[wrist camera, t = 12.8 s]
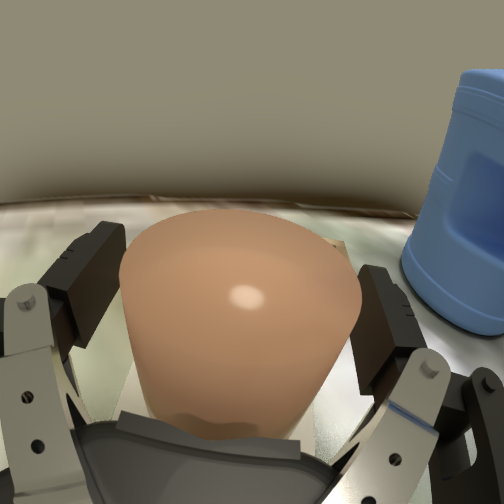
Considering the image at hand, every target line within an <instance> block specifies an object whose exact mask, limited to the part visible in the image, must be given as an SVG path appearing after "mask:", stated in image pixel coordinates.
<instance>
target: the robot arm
mask: <svg viewBox="0 0 504 504" xmlns="http://www.w3.org/2000/svg"><path fill="white" fill-rule="evenodd" d="M125 252H126V237H125V228H124V225H123V224H120V223H113V222H107V221H101V222H100V223H99V224H98V225H97V226H96V227H95V228H94V229H93V230H92V231H91V233H86V234H84V235H82V236H80V237H79V238H77V239H75V240H74V241H73V242H72V243H71V244H70V245H69V246H68V248H67V249H66V251H64V252H63V253H62V254H61V255H60V258H58V259H57V260H56V261H55V262H54V263H53V265H52V266H51V267H50V268H49V269H48V270H47V272H46V273H45V274H44V275H43V276H42V278H41V279H40V280H39V281H38V282H37V284H34V283H29V284H24V285H21V286H19V287H17V288H15V289H14V290H12V291H11V292H10V293H9V295H8V296H7V298H0V420H1V427H2V433H3V439H4V444H5V450H6V454H7V459H8V463H9V467H8V468H6V469H4V470H3V471H1V472H0V504H408V502H409V500H410V498H411V497H412V495H413V493H414V491H415V489H416V487H417V485H418V483H419V481H420V479H421V477H422V475H423V473H424V470H425V468H426V466H427V464H428V466H429V474H430V482H431V492H432V504H504V387H503V384H502V382H501V380H500V379H499V377H498V376H497V375H496V374H495V373H494V372H493V371H491V370H490V369H488V368H484V367H480V368H477V369H476V370H475V371H474V372H473V373H472V374H471V375H470V376H469V377H466V376H463V375H460V374H457V373H453V372H451V371H450V367H449V365H448V363H447V361H446V360H445V359H444V357H443V356H441V355H440V354H439V353H438V352H436V351H434V350H432V349H428V347H427V345H426V342H425V340H424V337H423V334H422V332H421V329H420V327H419V325H418V322H417V320H416V318H415V317H414V316H415V315H414V313H413V310H412V308H410V307H411V305H410V303H409V301H408V299H407V296H406V294H405V293H404V292H403V291H402V290H401V289H400V288H399V287H398V286H397V284H393V283H392V280H391V278H390V276H389V274H388V271H387V269H386V268H384V267H378V266H372V265H366V264H365V265H363V266H362V268H361V269H360V272H359V274H358V277H357V278H358V280H359V283H360V287H361V292H362V305H361V310H360V314H359V316H358V319H357V321H356V323H355V325H354V327H353V329H352V331H351V333H350V340H351V345H352V350H353V356H354V361H355V367H356V372H357V378H358V384H359V390H360V395H373V397H374V403H373V404H372V405H371V406H370V408H369V409H368V411H367V412H366V414H365V415H364V417H363V418H362V420H361V421H360V423H359V424H358V426H357V427H356V429H355V430H354V431H353V433H352V434H351V436H350V437H349V439H348V440H347V441H346V443H345V444H344V445H343V447H342V448H341V449H340V450H339V452H338V453H337V454H336V455H335V456H334V457H333V458H332V459H331V461H330V462H329V463H328V464H327V463H326V462H324V461H322V460H321V459H319V458H317V457H315V456H312V455H310V454H308V453H305V452H301V442H300V440H288V439H275V438H264V437H250V438H240V439H229V440H216V441H209V440H204V439H202V438H199V437H197V436H195V435H192V434H190V433H188V432H186V431H183V430H181V429H179V428H177V427H175V426H173V425H170V424H168V423H166V422H164V421H161V420H157V419H153V418H149V417H145V416H141V415H137V414H134V413H130V412H126V411H123V410H121V412H120V415H119V418H118V420H110V421H100V422H94V423H92V422H91V419H90V417H89V415H88V413H87V411H86V408H85V406H84V403H83V400H82V396H81V393H80V390H79V386H78V383H77V379H76V375H75V371H74V368H73V364H72V359H71V356H70V353H69V352H70V350H71V348H72V346H73V345H74V346H77V347H80V348H84V349H86V347H87V345H88V343H89V341H90V339H91V337H92V335H93V334H94V332H95V330H96V328H97V326H98V324H99V323H100V321H101V319H102V317H103V315H104V314H105V312H106V310H107V308H108V306H109V305H110V303H111V301H112V299H113V298H114V296H115V294H116V293H117V291H118V289H119V287H120V281H119V271H120V264H121V261H122V258H123V255H124V253H125ZM470 428H472V431H473V435H474V439H475V444H476V448H477V458H476V461H475V463H474V464H473V465H472V466H471V465H470V459H469V454H468V449H467V444H466V440H465V435H464V433H465V432H467V431H468V430H469V429H470Z"/></svg>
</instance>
